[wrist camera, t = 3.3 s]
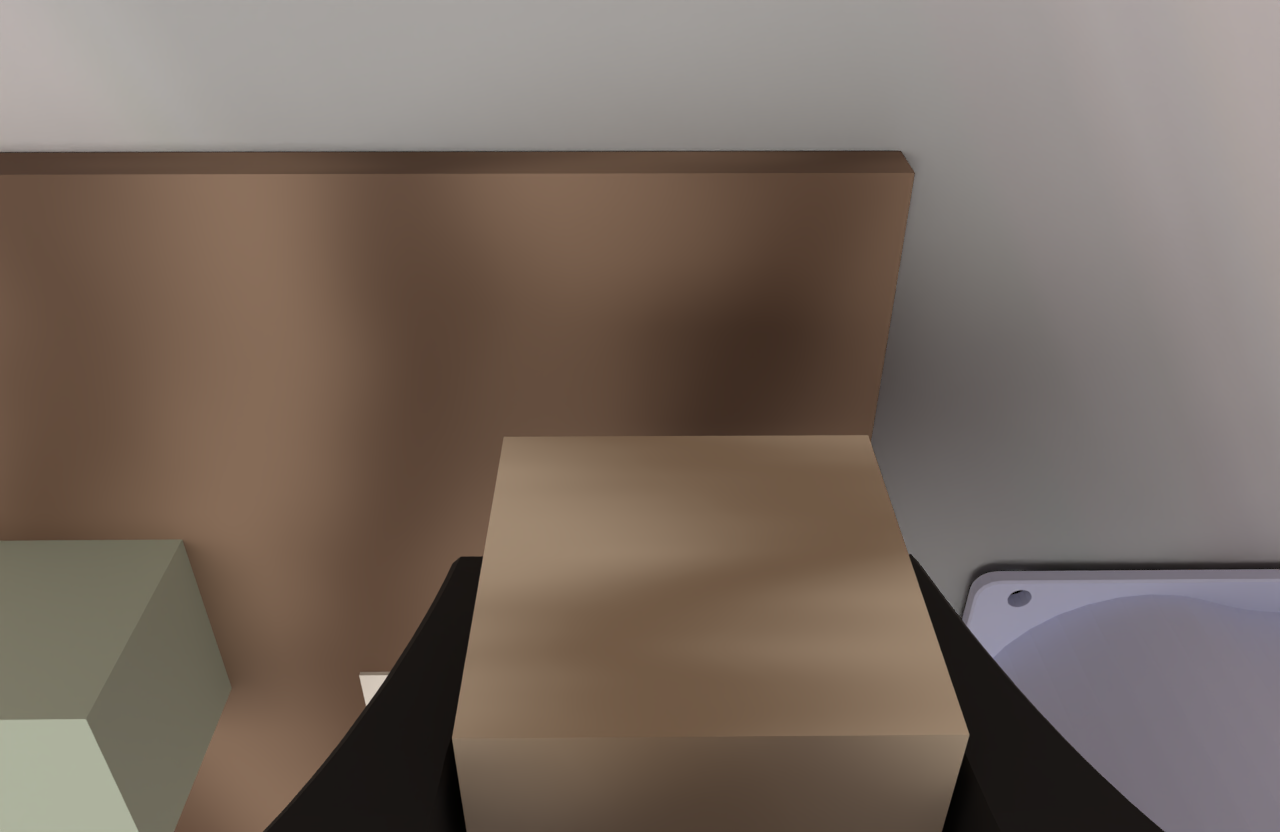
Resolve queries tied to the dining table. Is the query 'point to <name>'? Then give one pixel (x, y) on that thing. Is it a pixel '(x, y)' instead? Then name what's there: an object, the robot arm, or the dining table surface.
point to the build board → (397, 372)
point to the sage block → (103, 685)
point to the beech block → (701, 644)
